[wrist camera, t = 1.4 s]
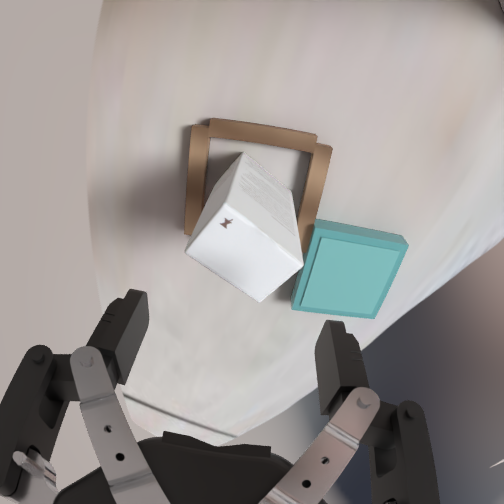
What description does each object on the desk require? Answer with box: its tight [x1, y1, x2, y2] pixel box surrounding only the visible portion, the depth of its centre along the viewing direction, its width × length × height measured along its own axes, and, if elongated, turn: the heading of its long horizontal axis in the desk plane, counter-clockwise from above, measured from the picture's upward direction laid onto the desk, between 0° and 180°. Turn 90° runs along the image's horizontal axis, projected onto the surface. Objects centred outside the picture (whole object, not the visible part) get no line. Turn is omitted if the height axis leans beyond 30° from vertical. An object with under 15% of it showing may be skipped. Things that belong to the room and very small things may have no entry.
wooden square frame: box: [184, 118, 333, 253], centre depth 27 cm, size 12×12×1 cm
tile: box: [291, 219, 409, 319], centre depth 31 cm, size 10×10×2 cm
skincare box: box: [185, 152, 304, 303], centre depth 23 cm, size 6×4×12 cm
